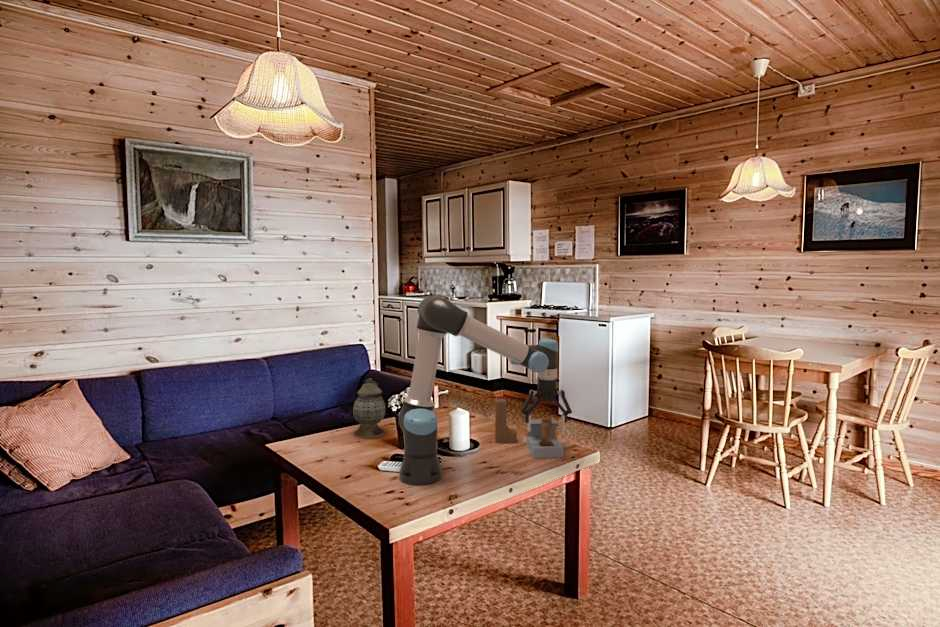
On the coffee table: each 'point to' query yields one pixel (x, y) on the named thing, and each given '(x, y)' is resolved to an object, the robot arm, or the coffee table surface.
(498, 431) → the wooden block
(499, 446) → the coffee table surface
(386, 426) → the coffee table surface
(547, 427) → the dowel
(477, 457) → the coffee table surface
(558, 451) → the socket block
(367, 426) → the lantern
